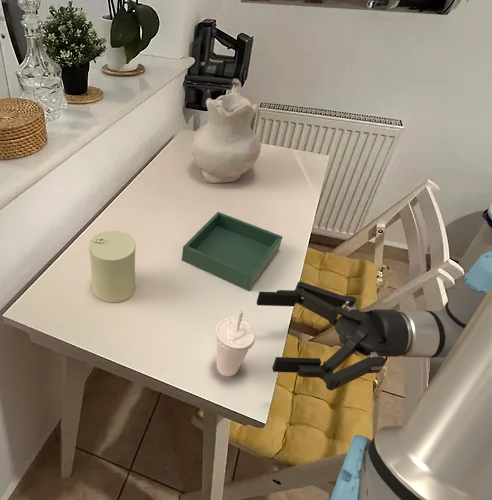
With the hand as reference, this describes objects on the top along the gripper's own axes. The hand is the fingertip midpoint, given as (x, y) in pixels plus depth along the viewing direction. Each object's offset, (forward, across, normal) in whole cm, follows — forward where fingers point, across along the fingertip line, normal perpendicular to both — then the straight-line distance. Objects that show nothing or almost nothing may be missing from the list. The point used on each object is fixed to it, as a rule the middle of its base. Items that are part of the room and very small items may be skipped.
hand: (265, 329), depth 70 cm
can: (+26, +18, -10) cm, 34 cm away
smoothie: (+5, -1, -10) cm, 11 cm away
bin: (0, +30, -10) cm, 32 cm away
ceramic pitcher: (-2, +68, -10) cm, 69 cm away
